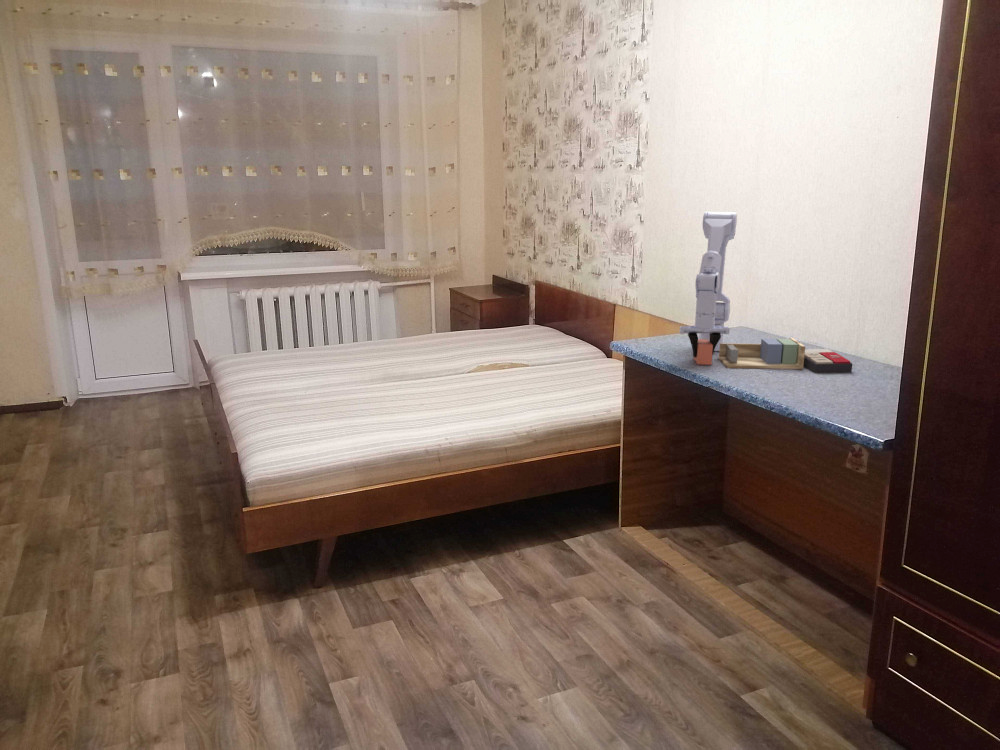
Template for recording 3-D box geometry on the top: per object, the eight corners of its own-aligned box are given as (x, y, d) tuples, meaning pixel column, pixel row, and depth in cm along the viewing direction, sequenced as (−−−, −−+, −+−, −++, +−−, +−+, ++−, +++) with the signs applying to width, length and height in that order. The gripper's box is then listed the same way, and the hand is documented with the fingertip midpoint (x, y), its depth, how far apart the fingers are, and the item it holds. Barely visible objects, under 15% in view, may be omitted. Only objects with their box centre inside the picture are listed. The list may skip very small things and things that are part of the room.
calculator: (816, 362, 216) (794, 347, 231) (814, 376, 218) (792, 361, 232) (853, 361, 217) (829, 347, 231) (851, 375, 218) (827, 360, 233)
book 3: (774, 357, 232) (776, 338, 230) (788, 357, 232) (789, 338, 230) (782, 364, 224) (784, 344, 223) (795, 364, 224) (797, 344, 222)
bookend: (725, 357, 233) (726, 344, 232) (731, 357, 232) (732, 344, 231) (730, 362, 226) (731, 349, 225) (737, 362, 226) (738, 349, 225)
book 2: (759, 357, 232) (761, 338, 231) (773, 357, 232) (774, 338, 230) (766, 363, 225) (768, 344, 223) (780, 364, 224) (782, 344, 223)
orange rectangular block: (693, 358, 234) (694, 339, 233) (706, 358, 234) (707, 339, 233) (697, 364, 227) (699, 345, 225) (711, 364, 226) (712, 345, 225)
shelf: (718, 358, 235) (720, 337, 233) (791, 359, 233) (793, 337, 231) (727, 367, 223) (728, 345, 221) (803, 369, 222) (805, 346, 220)
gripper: (683, 315, 223) (680, 359, 227) (733, 315, 222) (729, 360, 226) (679, 310, 230) (676, 354, 234) (727, 311, 229) (724, 354, 232)
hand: (702, 356), depth 230 cm, fingers closed on orange rectangular block, 4 cm apart
